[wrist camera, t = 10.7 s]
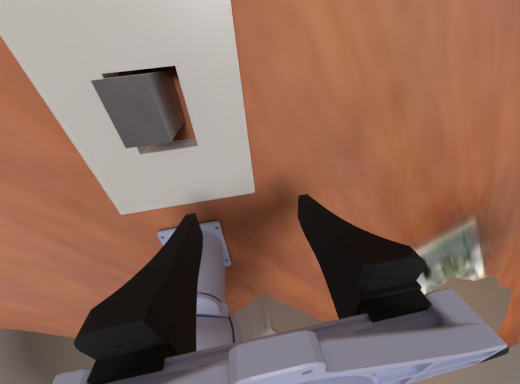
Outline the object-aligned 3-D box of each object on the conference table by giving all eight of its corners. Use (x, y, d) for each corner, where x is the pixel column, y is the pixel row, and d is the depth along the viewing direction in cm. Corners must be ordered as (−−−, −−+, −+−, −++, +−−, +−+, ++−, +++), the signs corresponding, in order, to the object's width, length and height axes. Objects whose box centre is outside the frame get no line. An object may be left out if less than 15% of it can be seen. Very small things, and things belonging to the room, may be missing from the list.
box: (335, 323, 54) (263, 289, 38) (350, 358, 48) (271, 336, 32) (272, 353, 61) (187, 335, 44) (277, 387, 55) (181, 381, 38)
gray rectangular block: (185, 120, 18) (170, 142, 13) (152, 124, 18) (125, 148, 13) (169, 70, 16) (145, 74, 11) (132, 74, 16) (90, 80, 11)
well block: (252, 180, 23) (255, 192, 21) (130, 200, 22) (121, 214, 20) (221, -52, 13) (220, -74, 11) (-12, -37, 12) (-62, -58, 10)
